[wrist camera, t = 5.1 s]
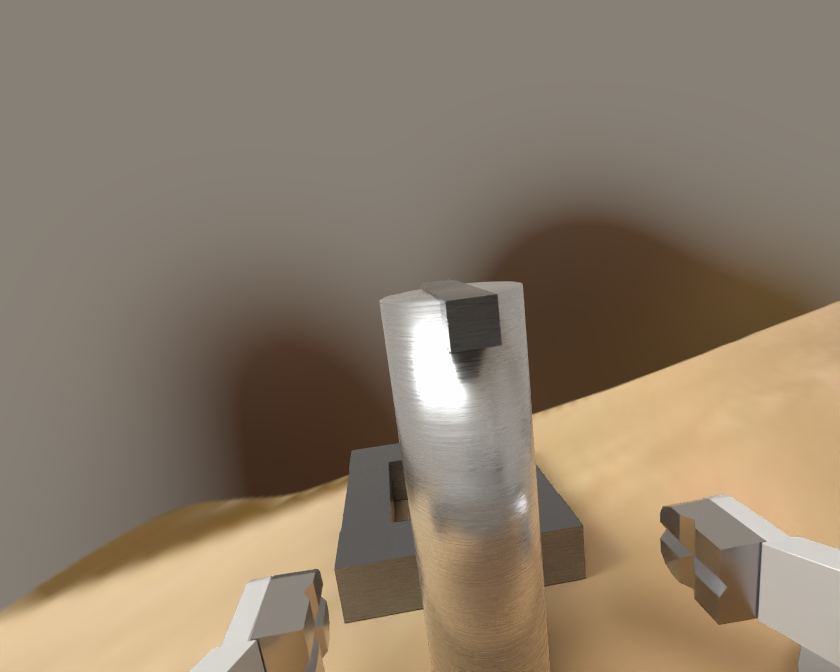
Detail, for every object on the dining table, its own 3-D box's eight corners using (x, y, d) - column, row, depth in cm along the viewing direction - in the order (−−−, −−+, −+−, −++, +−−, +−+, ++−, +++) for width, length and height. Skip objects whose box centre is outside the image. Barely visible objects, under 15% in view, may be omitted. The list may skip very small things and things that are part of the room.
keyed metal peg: (522, 625, 15) (491, 274, 13) (588, 799, 10) (562, 284, 8) (429, 643, 15) (379, 289, 12) (453, 829, 10) (378, 309, 8)
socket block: (511, 461, 27) (508, 426, 26) (585, 578, 17) (582, 525, 17) (357, 486, 26) (351, 450, 26) (344, 622, 16) (334, 569, 16)
